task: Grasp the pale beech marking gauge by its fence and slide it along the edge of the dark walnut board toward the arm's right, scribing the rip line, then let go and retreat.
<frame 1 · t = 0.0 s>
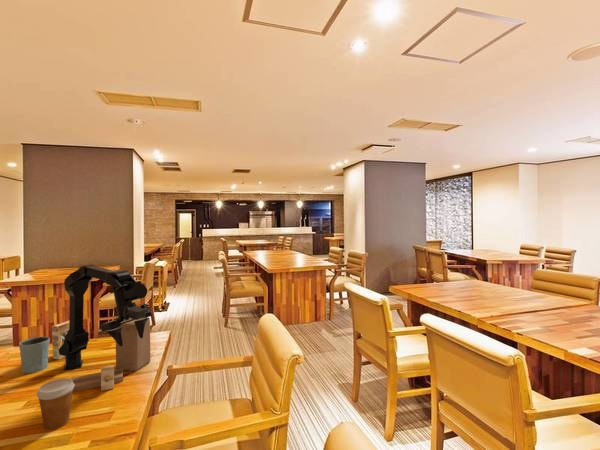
hand: (131, 341, 129), 15 cm above the table, tool pointing down, fingers open, 9 cm apart
walnut board: (89, 383, 127), on the table
grey embossed cup: (35, 368, 140), on the table
disposable coffee cup: (56, 423, 103), on the table
marking gauge: (108, 374, 127), point 4 cm above the table, slide at 0.0 cm
wooden block: (133, 366, 142), on the table
candy box: (65, 355, 153), on the table
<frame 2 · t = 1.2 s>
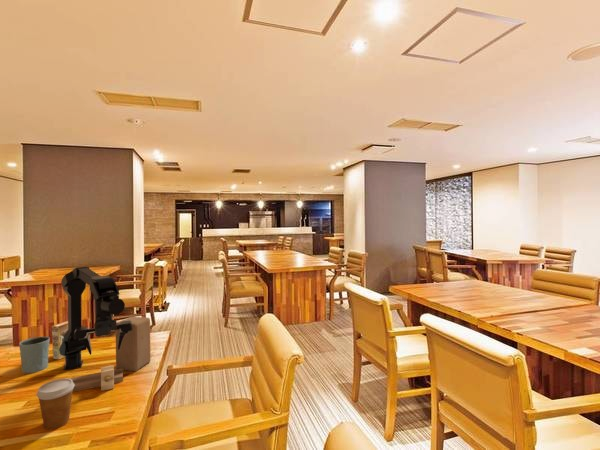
hand: (105, 351, 126), 13 cm above the table, tool pointing down, fingers open, 9 cm apart
nothing on the table moved.
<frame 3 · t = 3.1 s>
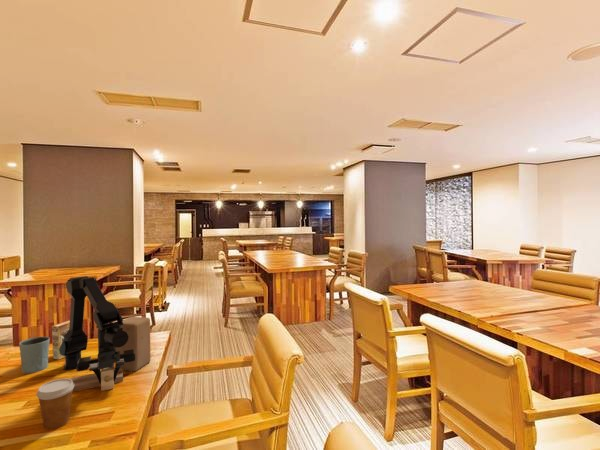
hand: (107, 382, 124), 2 cm above the table, tool pointing down, fingers closed on marking gauge, 4 cm apart
marking gauge: (108, 374, 127), point 4 cm above the table, slide at 0.0 cm, touching gripper
everything else where it was.
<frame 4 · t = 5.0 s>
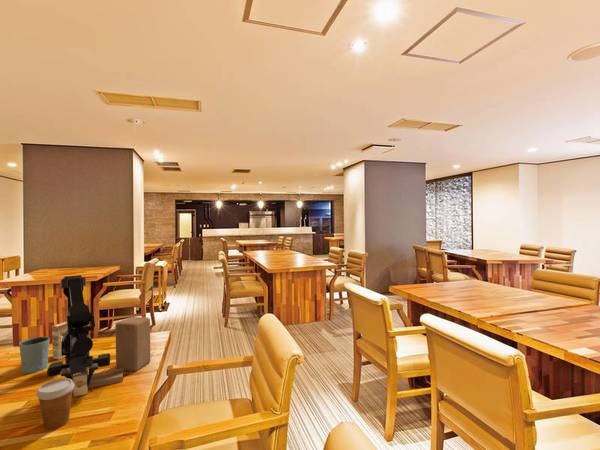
hand: (80, 387, 120), 2 cm above the table, tool pointing down, fingers closed on marking gauge, 4 cm apart
marking gauge: (81, 379, 123), point 4 cm above the table, slide at 8.5 cm, touching gripper
everything else where it was.
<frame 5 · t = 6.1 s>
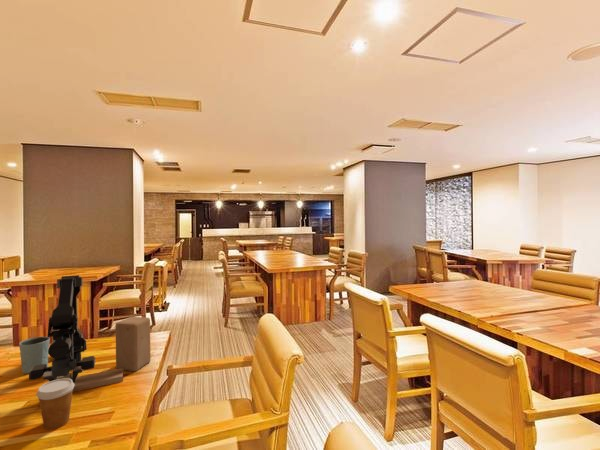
hand: (64, 390, 118), 2 cm above the table, tool pointing down, fingers closed on marking gauge, 4 cm apart
marking gauge: (65, 382, 121), point 4 cm above the table, slide at 13.4 cm, touching gripper
everything else where it was.
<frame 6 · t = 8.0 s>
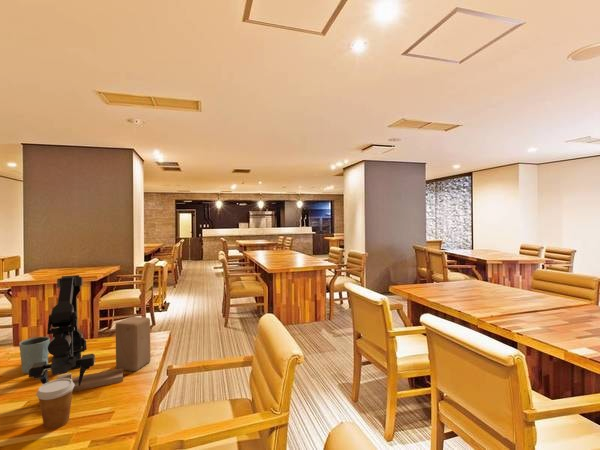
hand: (64, 388, 118), 3 cm above the table, tool pointing down, fingers open, 9 cm apart
marking gauge: (65, 382, 121), point 4 cm above the table, slide at 13.4 cm
everything else where it was.
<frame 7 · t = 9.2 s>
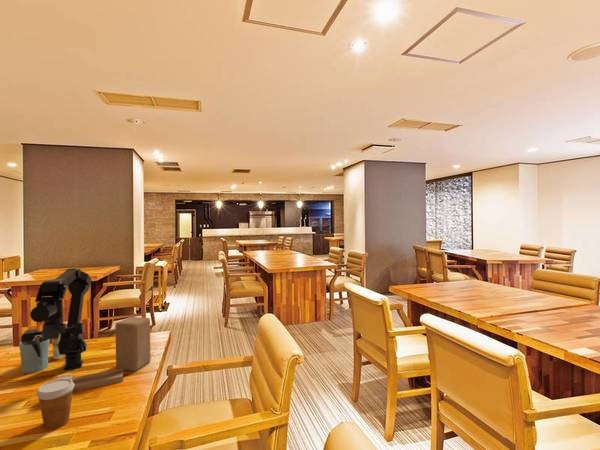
hand: (54, 354, 126), 12 cm above the table, tool pointing down, fingers open, 9 cm apart
nothing on the table moved.
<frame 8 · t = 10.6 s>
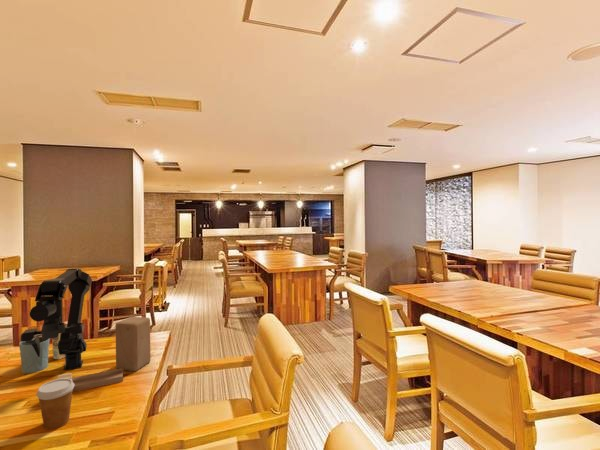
hand: (54, 353, 126), 12 cm above the table, tool pointing down, fingers open, 9 cm apart
nothing on the table moved.
at the end: marking gauge slide at 13.4 cm; the gripper is holding nothing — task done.
